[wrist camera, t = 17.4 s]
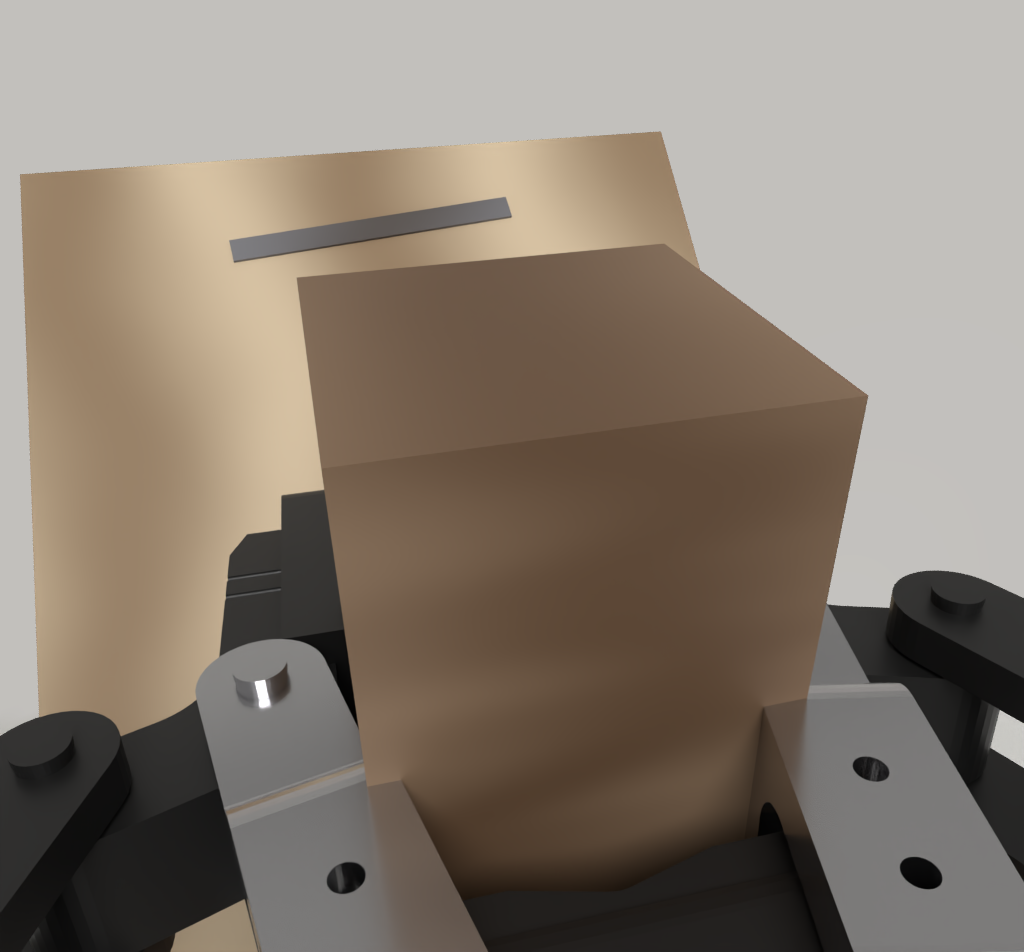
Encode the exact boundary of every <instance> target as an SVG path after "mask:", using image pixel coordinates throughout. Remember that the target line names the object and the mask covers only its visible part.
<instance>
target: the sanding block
mask: <svg viewBox="0 0 1024 952" xmlns="http://www.w3.org/2000/svg"><path fill="white" fill-rule="evenodd" d="M297 285H298V293H299V301H300V309H301V316H302V324H303V332H304V339H305V347H306V355H307V363H308V370H309V378H310V386H311V394H312V401H313V409H314V417H315V424H316V432H317V440H318V448H319V455H320V463H321V471H322V477H323V484H324V491H325V498H326V505H327V512H328V519H329V526H330V533H331V540H332V547H333V554H334V561H335V568H336V574H337V581H338V588H339V595H340V602H341V609H342V616H343V623H344V630H345V637H346V644H347V651H348V658H349V665H350V672H351V678H352V685H353V692H354V699H355V706H356V713H357V720H358V727H359V734H360V741H361V748H362V755H363V762H364V769H365V775H366V782H367V787H368V786H373V785H378V784H383V783H388V782H393V781H398V780H401V781H402V783H403V785H404V787H405V789H406V791H407V793H408V795H409V797H410V799H411V801H412V803H413V805H414V807H415V808H416V810H417V812H418V814H419V816H420V818H421V820H422V822H423V824H424V826H425V828H426V830H427V832H428V834H429V836H430V838H431V840H432V842H433V844H434V846H435V848H436V850H437V852H438V854H439V856H440V858H441V860H442V862H443V864H444V866H445V868H446V870H447V872H448V874H449V876H450V878H451V880H452V882H453V883H454V885H455V887H456V889H457V891H458V893H459V895H460V897H461V899H462V901H463V900H468V899H472V898H477V897H482V896H486V895H491V894H495V893H500V892H505V891H583V892H613V891H620V890H625V889H627V888H630V887H632V886H634V885H636V884H638V883H640V882H642V881H644V880H646V879H648V878H650V877H652V876H654V875H656V874H658V873H660V872H662V871H664V870H666V869H668V868H670V867H672V866H674V865H676V864H678V863H680V862H682V861H684V860H686V859H688V858H690V857H692V856H694V855H696V854H698V853H700V852H702V851H704V850H706V849H708V848H710V847H712V846H717V845H721V844H726V843H730V842H735V841H740V840H744V837H745V830H746V823H747V817H748V810H749V803H750V796H751V789H752V782H753V775H754V769H755V762H756V755H757V748H758V741H759V734H760V727H761V721H762V714H763V707H765V706H770V705H775V704H780V703H785V702H790V701H795V700H800V699H805V698H807V696H808V691H809V686H810V682H811V677H812V672H813V667H814V662H815V657H816V652H817V647H818V642H819V637H820V632H821V627H822V622H823V617H824V612H825V607H826V602H827V597H828V592H829V587H830V582H831V577H832V572H833V568H834V562H835V558H836V552H837V548H838V543H839V538H840V533H841V528H842V523H843V518H844V513H845V508H846V503H847V498H848V492H849V488H850V483H851V478H852V473H853V469H854V463H855V458H856V453H857V448H858V444H859V439H860V434H861V429H862V424H863V419H864V414H865V409H866V404H867V399H868V395H867V394H865V393H864V392H863V391H861V390H860V389H859V388H857V387H856V386H855V385H853V384H852V383H851V382H849V381H848V380H847V379H845V378H844V377H843V376H841V375H840V374H838V373H837V372H836V371H834V370H833V369H831V368H830V367H829V366H828V365H826V364H825V363H824V362H822V361H821V360H820V359H818V358H817V357H816V356H814V355H813V354H812V353H810V352H809V351H808V350H806V349H805V348H804V347H802V346H801V345H800V344H798V343H797V342H796V341H794V340H793V339H792V338H790V337H789V336H787V335H786V334H785V333H784V332H782V331H781V330H779V329H778V328H777V327H775V326H774V325H773V324H771V323H770V322H769V321H767V320H766V319H765V318H763V317H762V316H761V315H759V314H758V313H757V312H755V311H754V310H753V309H751V308H750V307H749V306H747V305H746V304H745V303H743V302H742V301H741V300H739V299H738V298H737V297H735V296H734V295H732V294H731V293H730V292H729V291H727V290H726V289H725V288H723V287H722V286H721V285H719V284H718V283H717V282H715V281H714V280H712V279H711V278H710V277H708V276H707V275H706V274H704V273H703V272H702V271H700V270H699V269H698V268H696V267H695V266H694V265H692V264H691V263H690V262H688V261H687V260H686V259H684V258H683V257H682V256H680V255H679V254H678V253H676V252H675V251H674V250H672V249H671V248H670V247H668V246H667V245H666V244H654V245H643V246H632V247H622V248H611V249H600V250H589V251H578V252H567V253H557V254H546V255H535V256H524V257H513V258H503V259H492V260H481V261H470V262H459V263H448V264H438V265H427V266H416V267H405V268H394V269H383V270H373V271H362V272H351V273H340V274H329V275H318V276H308V277H297Z"/></svg>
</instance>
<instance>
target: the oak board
mask: <svg viewBox="0 0 1024 952" xmlns="http://www.w3.org/2000/svg"><path fill="white" fill-rule="evenodd" d="M20 180H21V207H22V208H21V209H22V235H23V236H22V237H23V267H24V295H25V324H26V351H27V381H28V409H29V438H30V465H31V494H32V523H33V552H34V577H35V578H34V579H35V608H36V636H37V664H38V665H37V666H38V692H39V693H38V694H39V717H42V716H45V715H49V714H54V713H58V712H66V711H89V712H95V713H98V714H101V715H104V716H106V717H107V718H109V719H111V720H112V721H113V722H114V723H115V724H116V726H117V728H118V730H119V732H120V736H123V735H125V734H128V733H130V732H133V731H136V730H138V729H141V728H143V727H146V726H149V725H151V724H154V723H156V722H159V721H161V720H163V719H166V718H168V717H170V716H172V715H174V714H176V713H178V712H179V711H181V710H183V709H184V708H186V707H187V706H189V705H190V704H192V703H193V702H194V701H195V700H196V693H195V689H196V684H197V682H198V679H199V677H200V675H201V674H202V673H203V671H204V670H205V669H206V668H207V667H208V666H209V665H210V664H211V663H212V662H213V661H215V660H216V659H217V658H219V654H220V644H221V634H222V624H223V615H224V605H225V600H226V585H227V581H228V578H227V576H228V566H229V556H230V554H231V553H232V552H233V551H234V549H235V548H236V547H237V546H238V545H239V543H240V542H241V541H242V540H243V539H244V537H245V536H246V535H247V534H252V533H260V532H267V531H274V530H281V496H282V495H287V494H294V493H302V492H310V491H317V490H324V484H323V477H322V471H321V463H320V455H319V448H318V440H317V432H316V424H315V417H314V409H313V401H312V394H311V386H310V378H309V370H308V363H307V355H306V347H305V339H304V332H303V324H302V316H301V309H300V301H299V293H298V285H297V277H308V276H318V275H329V274H340V273H351V272H362V271H373V270H383V269H394V268H405V267H416V266H427V265H438V264H448V263H459V262H470V261H481V260H492V259H503V258H513V257H524V256H535V255H546V254H557V253H567V252H578V251H589V250H600V249H611V248H622V247H632V246H643V245H654V244H666V245H667V246H668V247H670V248H671V249H672V250H674V251H675V252H676V253H678V254H679V255H680V256H682V257H683V258H684V259H686V260H687V261H688V262H690V263H691V264H692V265H694V266H695V267H696V268H698V269H699V270H700V268H699V265H698V261H697V257H696V254H695V251H694V247H693V243H692V240H691V236H690V233H689V229H688V226H687V222H686V219H685V215H684V212H683V208H682V205H681V201H680V198H679V194H678V191H677V187H676V184H675V180H674V176H673V173H672V169H671V166H670V162H669V159H668V155H667V152H666V148H665V145H664V141H663V138H662V134H661V132H647V133H632V134H618V135H603V136H587V137H573V138H557V139H542V140H527V141H513V142H498V143H483V144H468V145H454V146H438V147H424V148H408V149H393V150H379V151H363V152H348V153H335V154H320V155H304V156H289V157H274V158H259V159H244V160H229V161H214V162H200V163H184V164H170V165H154V166H140V167H124V168H110V169H95V170H79V171H65V172H51V173H35V174H21V175H20ZM170 952H258V951H257V947H256V943H255V939H254V935H253V931H252V927H251V923H250V919H249V916H248V912H247V908H246V904H245V900H242V901H240V902H238V903H236V904H234V905H232V906H230V907H228V908H226V909H224V910H222V911H220V912H218V913H216V914H214V915H212V916H210V917H208V918H205V919H203V920H201V921H199V922H197V923H195V924H193V925H191V926H189V927H187V928H185V929H183V930H181V931H179V932H177V933H175V939H174V943H173V947H172V949H171V951H170Z"/></svg>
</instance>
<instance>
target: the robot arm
mask: <svg viewBox="0 0 1024 952" xmlns="http://www.w3.org/2000/svg"><path fill="white" fill-rule="evenodd" d="M227 578H228V581H227V585H226V600H225V605H224V615H223V624H222V634H221V644H220V654H219V658H217V659H216V660H215V661H213V662H212V663H211V664H210V665H209V666H208V667H207V668H206V669H205V670H204V671H203V673H202V674H201V675H200V677H199V679H198V682H197V684H196V689H195V693H196V700H195V701H194V702H193V703H192V704H190V705H189V706H187V707H186V708H184V709H183V710H181V711H179V712H178V713H176V714H174V715H172V716H170V717H168V718H166V719H163V720H161V721H159V722H156V723H154V724H151V725H149V726H146V727H143V728H141V729H138V730H136V731H133V732H130V733H128V734H125V735H123V736H120V732H119V730H118V728H117V726H116V724H115V723H114V722H113V721H112V720H111V719H109V718H107V717H106V716H104V715H101V714H98V713H95V712H89V711H66V712H58V713H54V714H49V715H45V716H42V717H39V718H35V719H33V720H30V721H28V722H25V723H23V724H21V725H19V726H17V727H15V728H13V729H11V730H9V731H8V732H6V733H5V734H3V735H1V736H0V952H170V951H171V949H172V947H173V943H174V939H175V933H177V932H179V931H181V930H183V929H185V928H187V927H189V926H191V925H193V924H195V923H197V922H199V921H201V920H203V919H205V918H208V917H210V916H212V915H214V914H216V913H218V912H220V911H222V910H224V909H226V908H228V907H230V906H232V905H234V904H236V903H238V902H240V901H242V900H245V904H246V908H247V912H248V916H249V919H250V923H251V927H252V931H253V935H254V939H255V943H256V947H257V951H258V952H1024V768H1023V767H1021V766H1019V765H1018V764H1016V763H1014V762H1013V761H1011V760H1009V759H1008V758H1006V757H1004V756H1003V755H1001V754H1000V753H998V752H996V751H995V750H993V749H991V748H990V746H991V742H992V738H993V734H994V730H995V726H996V722H997V718H998V715H999V711H1000V710H1001V711H1003V712H1005V713H1006V714H1008V715H1010V716H1012V717H1014V718H1015V719H1017V720H1019V721H1021V722H1022V723H1024V598H1022V597H1020V596H1018V595H1016V594H1013V593H1011V592H1009V591H1007V590H1005V589H1003V588H1000V587H998V586H996V585H994V584H992V583H989V582H987V581H984V580H982V579H979V578H976V577H973V576H970V575H965V574H961V573H956V572H949V571H923V572H917V573H913V574H909V575H907V576H905V577H903V578H901V579H900V580H899V581H898V582H897V583H896V584H895V585H894V588H893V592H892V597H891V602H890V608H878V607H853V606H836V605H828V604H827V603H826V607H825V612H824V617H823V622H822V627H821V632H820V637H819V642H818V647H817V652H816V657H815V662H814V667H813V672H812V677H811V682H810V686H809V691H808V696H807V698H805V699H800V700H795V701H790V702H785V703H780V704H775V705H770V706H765V707H763V714H762V721H761V727H760V734H759V741H758V748H757V755H756V762H755V769H754V775H753V782H752V789H751V796H750V803H749V810H748V817H747V823H746V830H745V837H744V840H740V841H735V842H730V843H726V844H721V845H717V846H712V847H710V848H708V849H706V850H704V851H702V852H700V853H698V854H696V855H694V856H692V857H690V858H688V859H686V860H684V861H682V862H680V863H678V864H676V865H674V866H672V867H670V868H668V869H666V870H664V871H662V872H660V873H658V874H656V875H654V876H652V877H650V878H648V879H646V880H644V881H642V882H640V883H638V884H636V885H634V886H632V887H630V888H627V889H625V890H620V891H613V892H583V891H505V892H500V893H495V894H491V895H486V896H482V897H477V898H472V899H468V900H463V901H462V899H461V897H460V895H459V893H458V891H457V889H456V887H455V885H454V883H453V882H452V880H451V878H450V876H449V874H448V872H447V870H446V868H445V866H444V864H443V862H442V860H441V858H440V856H439V854H438V852H437V850H436V848H435V846H434V844H433V842H432V840H431V838H430V836H429V834H428V832H427V830H426V828H425V826H424V824H423V822H422V820H421V818H420V816H419V814H418V812H417V810H416V808H415V807H414V805H413V803H412V801H411V799H410V797H409V795H408V793H407V791H406V789H405V787H404V785H403V783H402V781H401V780H398V781H393V782H388V783H383V784H378V785H373V786H368V787H367V782H366V775H365V769H364V762H363V755H362V748H361V741H360V734H359V727H358V720H357V713H356V706H355V699H354V692H353V685H352V678H351V672H350V665H349V658H348V651H347V644H346V637H345V630H344V623H343V616H342V609H341V602H340V595H339V588H338V581H337V574H336V568H335V561H334V554H333V547H332V540H331V533H330V526H329V519H328V512H327V505H326V498H325V491H324V490H317V491H310V492H302V493H294V494H287V495H282V496H281V530H274V531H267V532H260V533H252V534H247V535H246V536H245V537H244V539H243V540H242V541H241V542H240V543H239V545H238V546H237V547H236V548H235V549H234V551H233V552H232V553H231V554H230V556H229V566H228V576H227Z"/></svg>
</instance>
